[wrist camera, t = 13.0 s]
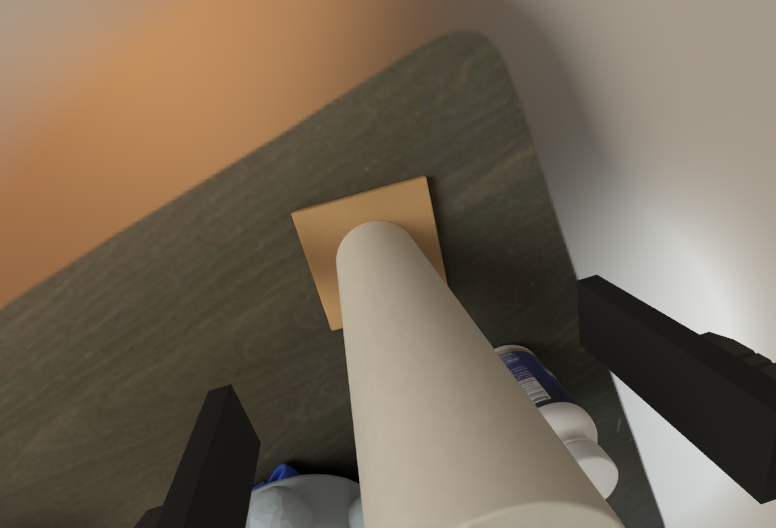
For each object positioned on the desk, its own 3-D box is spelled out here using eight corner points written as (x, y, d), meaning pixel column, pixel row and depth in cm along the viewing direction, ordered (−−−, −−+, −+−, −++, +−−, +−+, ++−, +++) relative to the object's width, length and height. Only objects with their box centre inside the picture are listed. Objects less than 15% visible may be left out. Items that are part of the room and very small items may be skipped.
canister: (325, 233, 23) (340, 566, 6) (407, 210, 23) (638, 466, 6) (348, 306, 24) (409, 710, 8) (424, 284, 25) (633, 629, 8)
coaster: (291, 211, 22) (290, 213, 22) (423, 175, 23) (426, 176, 22) (331, 326, 25) (331, 331, 25) (447, 292, 26) (449, 296, 25)
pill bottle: (547, 377, 30) (643, 489, 21) (488, 413, 30) (558, 538, 21) (520, 328, 28) (614, 430, 19) (456, 368, 28) (520, 486, 19)
